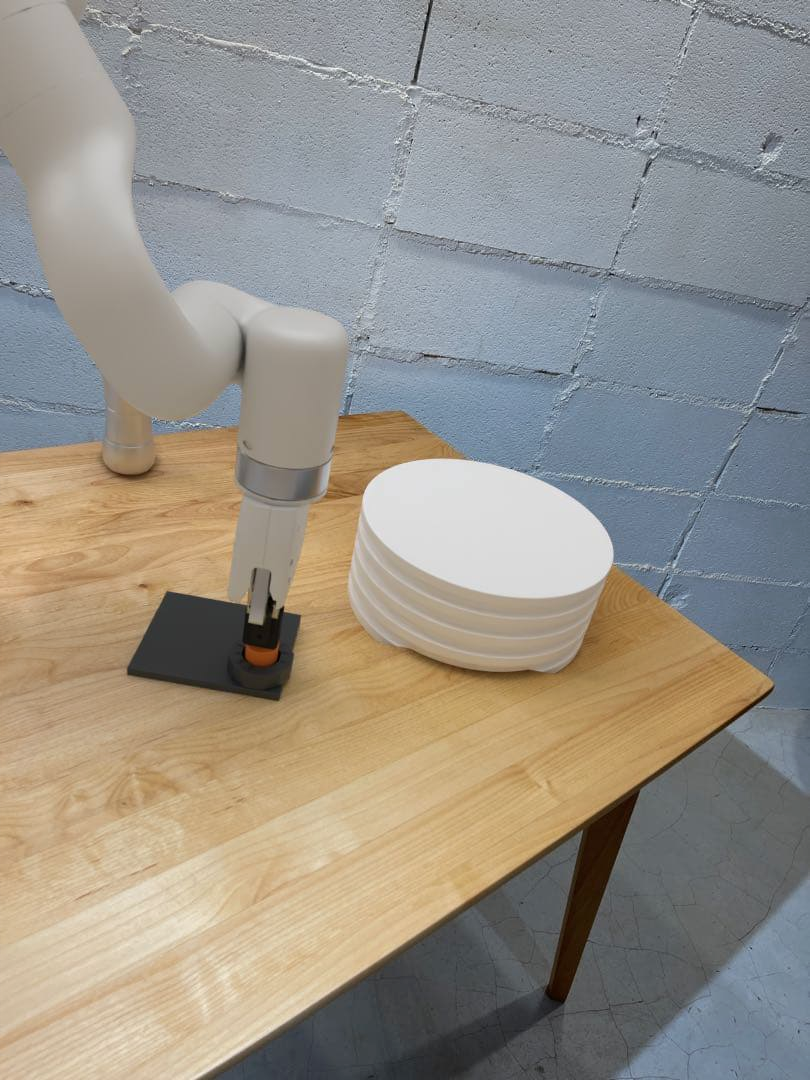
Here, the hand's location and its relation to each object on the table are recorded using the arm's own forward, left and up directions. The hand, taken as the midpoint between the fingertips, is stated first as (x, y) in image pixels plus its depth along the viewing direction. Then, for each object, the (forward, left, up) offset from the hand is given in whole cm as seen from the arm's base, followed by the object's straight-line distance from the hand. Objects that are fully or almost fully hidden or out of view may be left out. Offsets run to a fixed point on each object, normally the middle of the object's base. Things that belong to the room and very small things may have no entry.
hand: (261, 640), depth 75 cm
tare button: (0, 0, -2) cm, 2 cm away
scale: (-4, +3, -6) cm, 8 cm away
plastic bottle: (-24, +35, -6) cm, 43 cm away
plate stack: (+21, +19, -6) cm, 29 cm away
